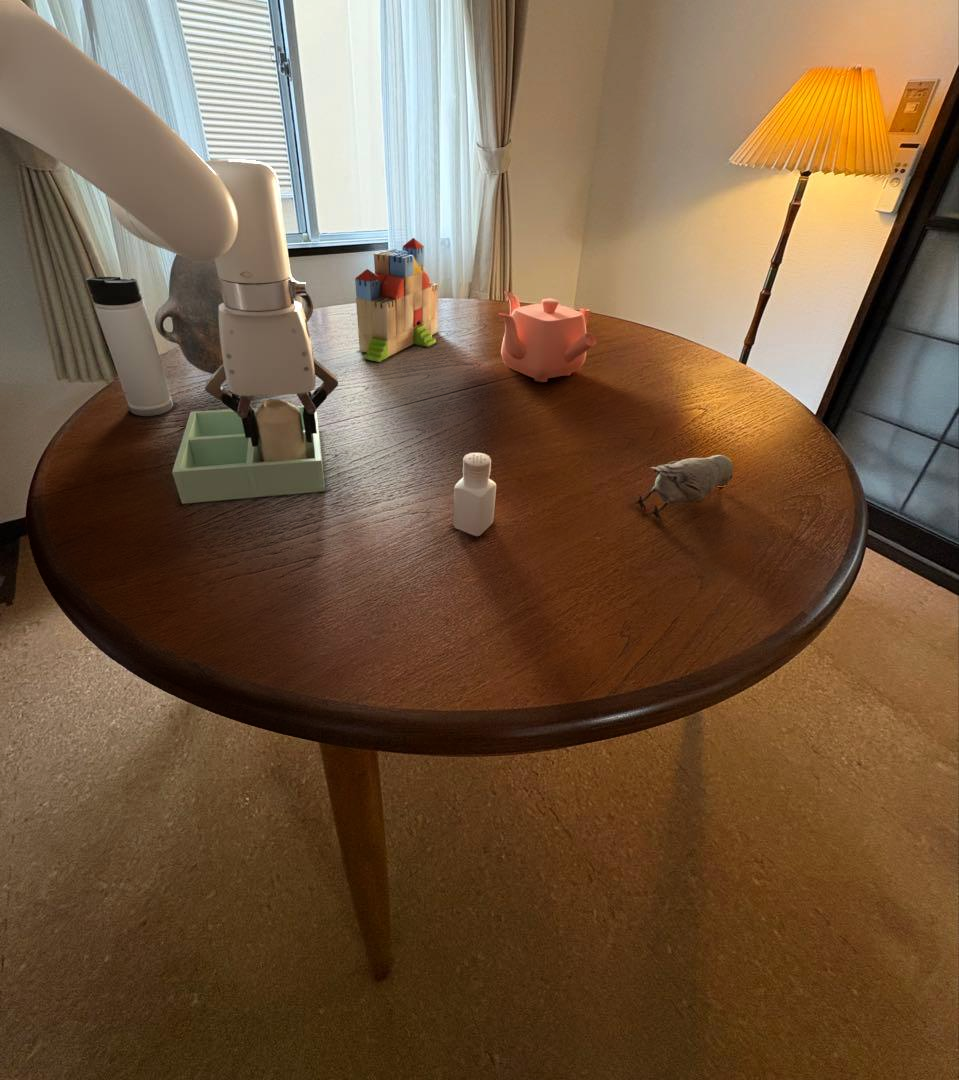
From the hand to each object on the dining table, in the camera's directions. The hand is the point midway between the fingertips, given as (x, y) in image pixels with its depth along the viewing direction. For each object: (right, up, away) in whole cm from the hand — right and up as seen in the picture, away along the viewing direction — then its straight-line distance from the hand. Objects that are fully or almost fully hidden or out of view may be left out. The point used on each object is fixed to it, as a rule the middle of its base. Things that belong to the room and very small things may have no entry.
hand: (282, 438), depth 73 cm
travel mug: (-27, +8, +18) cm, 33 cm away
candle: (0, -4, +3) cm, 5 cm away
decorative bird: (+54, -8, +4) cm, 55 cm away
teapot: (+38, +21, +42) cm, 60 cm away
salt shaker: (+25, -12, -3) cm, 28 cm away
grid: (-5, -3, +6) cm, 8 cm away
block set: (+8, +31, +51) cm, 60 cm away
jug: (-16, +16, +30) cm, 37 cm away
